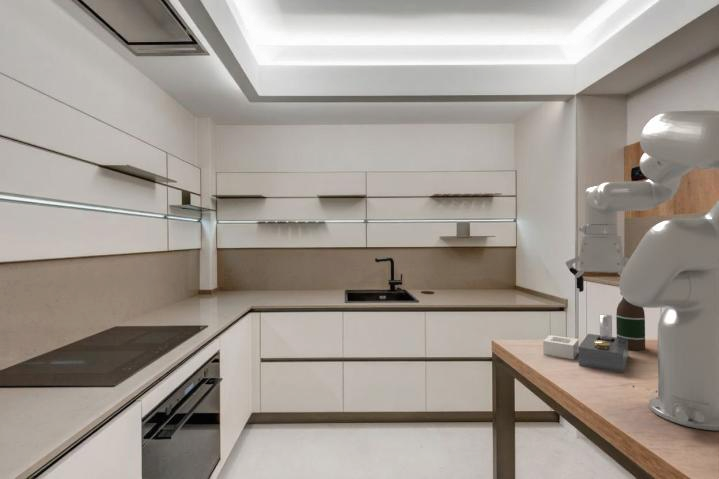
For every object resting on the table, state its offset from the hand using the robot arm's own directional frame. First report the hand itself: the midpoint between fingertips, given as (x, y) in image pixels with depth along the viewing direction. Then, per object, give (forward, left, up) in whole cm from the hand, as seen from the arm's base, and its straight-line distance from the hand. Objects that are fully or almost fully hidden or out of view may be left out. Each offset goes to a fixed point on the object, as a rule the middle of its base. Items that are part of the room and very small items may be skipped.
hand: (601, 292), depth 102 cm
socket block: (+3, 0, -21) cm, 21 cm away
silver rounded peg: (+8, 0, -20) cm, 21 cm away
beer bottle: (+22, -5, -21) cm, 31 cm away
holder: (+3, +11, -21) cm, 24 cm away
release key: (-1, 0, -20) cm, 20 cm away
